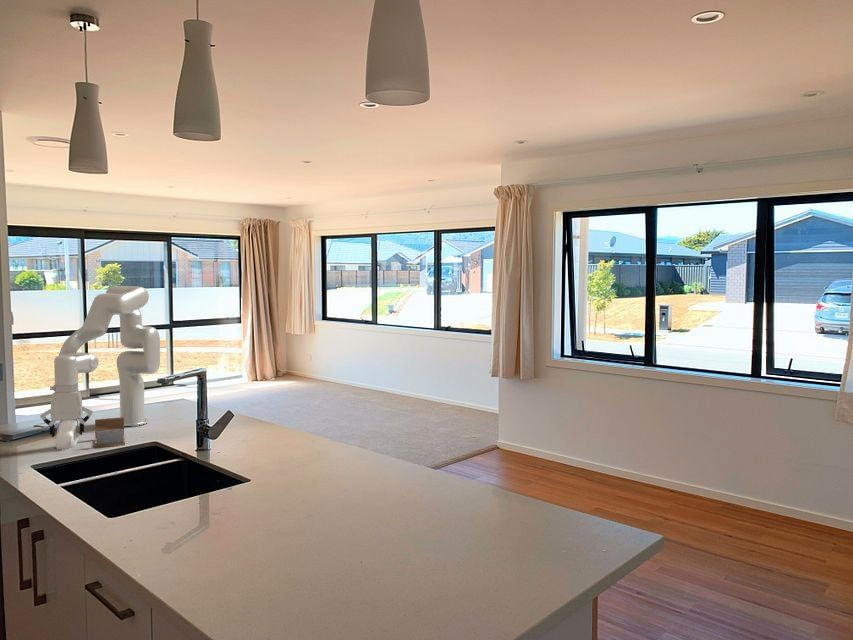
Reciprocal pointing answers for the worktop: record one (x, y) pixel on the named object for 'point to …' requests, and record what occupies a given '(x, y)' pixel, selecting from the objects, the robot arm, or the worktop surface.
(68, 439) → the figurine
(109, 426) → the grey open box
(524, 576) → the worktop surface
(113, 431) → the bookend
